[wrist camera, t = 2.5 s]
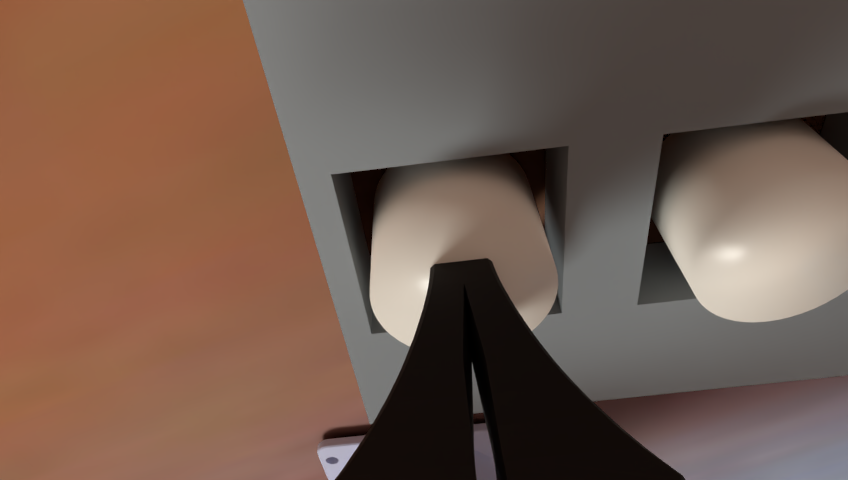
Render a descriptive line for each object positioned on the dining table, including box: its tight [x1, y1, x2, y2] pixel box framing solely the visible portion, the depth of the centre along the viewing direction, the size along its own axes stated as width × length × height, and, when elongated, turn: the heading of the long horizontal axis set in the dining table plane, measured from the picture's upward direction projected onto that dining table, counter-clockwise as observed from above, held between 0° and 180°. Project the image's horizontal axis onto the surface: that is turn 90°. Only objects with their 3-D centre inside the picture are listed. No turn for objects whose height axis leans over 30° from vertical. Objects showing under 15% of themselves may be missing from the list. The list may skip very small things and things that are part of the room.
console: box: [243, 0, 848, 424], centre depth 16 cm, size 14×22×2 cm, turn 97°
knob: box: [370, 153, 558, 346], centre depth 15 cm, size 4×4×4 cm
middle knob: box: [651, 118, 848, 322], centre depth 15 cm, size 4×4×4 cm
